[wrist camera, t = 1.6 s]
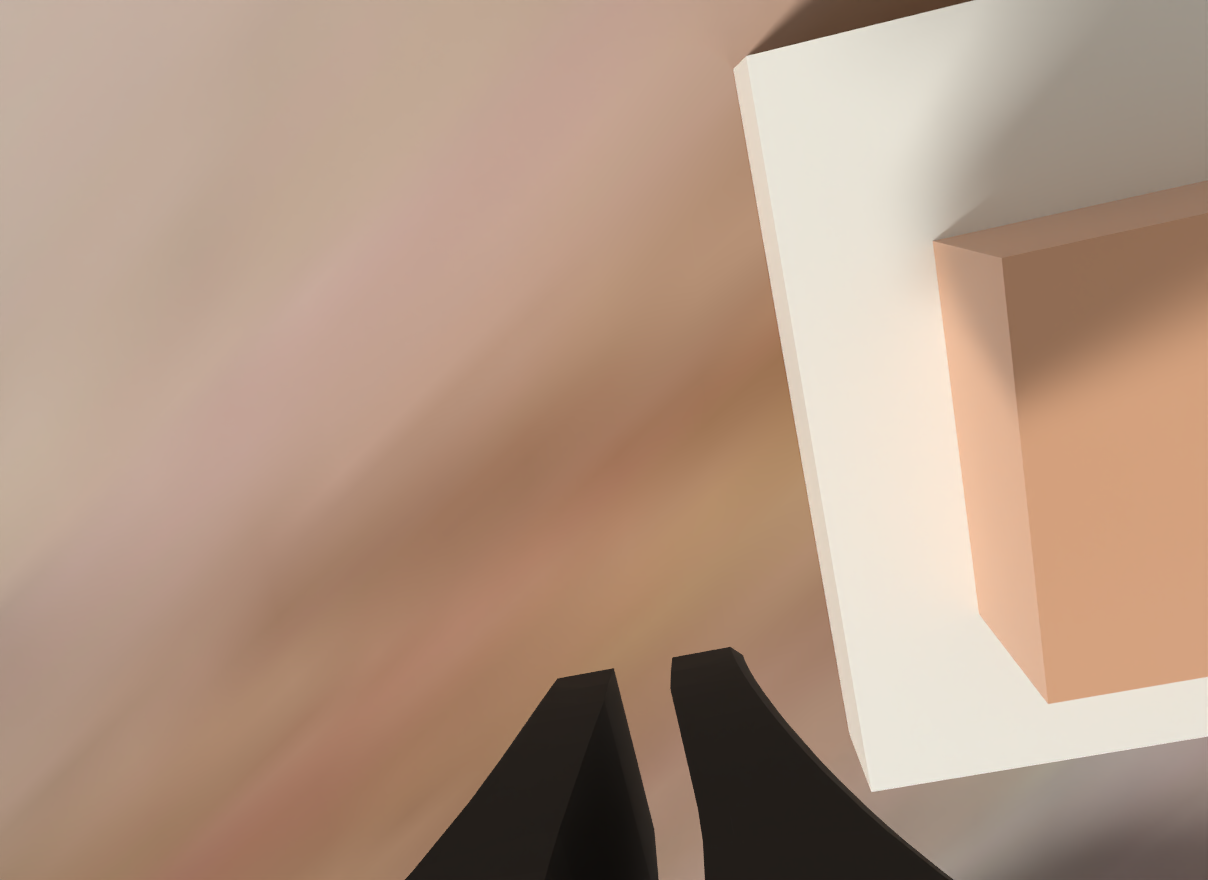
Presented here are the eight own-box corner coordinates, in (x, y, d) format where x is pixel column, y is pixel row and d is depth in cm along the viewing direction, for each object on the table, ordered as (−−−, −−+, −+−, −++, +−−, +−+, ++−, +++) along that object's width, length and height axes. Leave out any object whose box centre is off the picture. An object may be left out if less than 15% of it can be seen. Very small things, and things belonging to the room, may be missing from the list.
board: (1443, -105, 15) (1559, -144, 13) (1425, 633, 19) (1512, 685, 17) (733, 69, 16) (746, 56, 14) (849, 732, 20) (871, 792, 18)
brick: (1311, 157, 15) (1476, 154, 12) (1315, 552, 16) (1459, 634, 14) (932, 240, 15) (1001, 258, 12) (978, 613, 17) (1047, 704, 14)
